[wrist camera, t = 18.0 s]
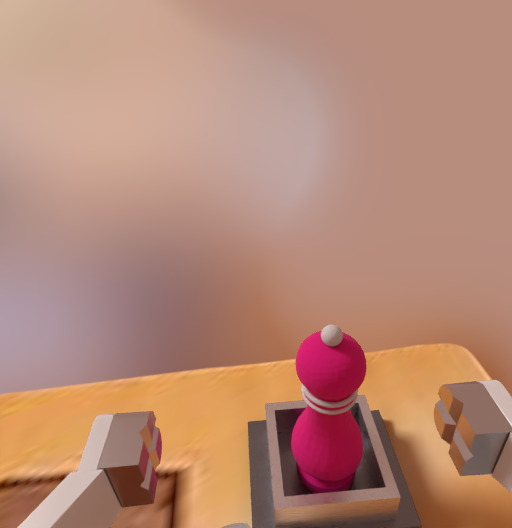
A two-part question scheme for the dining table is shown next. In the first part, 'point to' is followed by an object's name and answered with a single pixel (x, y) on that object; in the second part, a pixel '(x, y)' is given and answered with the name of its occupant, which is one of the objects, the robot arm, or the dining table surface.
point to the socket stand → (333, 503)
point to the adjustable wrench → (237, 525)
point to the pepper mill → (328, 411)
